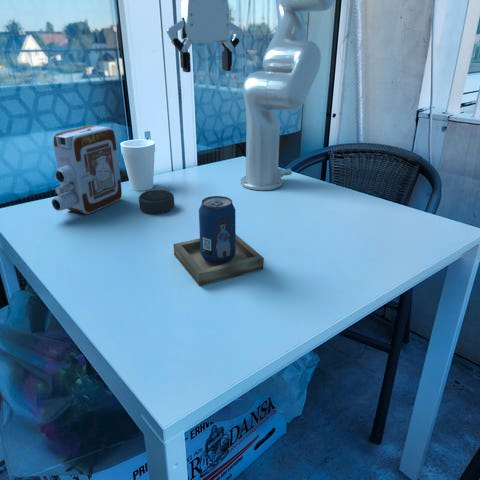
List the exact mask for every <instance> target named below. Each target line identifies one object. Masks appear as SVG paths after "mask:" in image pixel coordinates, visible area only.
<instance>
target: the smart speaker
mask: <svg viewBox="0 0 480 480" xmlns="http://www.w3.org/2000/svg"><path fill="white" fill-rule="evenodd" d="M138 206H139V209H140V210H141V212H143V213H145V214H149V215H159V214H166V213H169V212H170V211H172V210H173V209H174V208H175V195H174V193H172V191H169V190H166V189H165V190H164V189H149V190H145V191H143V192H142V193H140V195H139V196H138Z"/></svg>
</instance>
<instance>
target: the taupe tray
mask: <svg viewBox="0 0 480 480" xmlns="http://www.w3.org/2000/svg"><path fill="white" fill-rule="evenodd" d="M173 255H174V256H175V258H176V259H177V260H178V261H179V263H180V264H181V265H182V267H183V268H184V269H185V271H186V272H187V273H188V274H189V275H190V276H191V277H192V280H194V281H195V283H196V285H198V287H201V286H204V285H205V286H206V285H209V284H212V283H216V282H219V281H223V280H227V279H231V278H235V277H239V276H243V275H246V274H251V273H254V271H255V272H259V271H262V270H264V269H265V268H264V267H265V265H264V263H265V262H264V261H265V259H264V257H263V256H262V255H261V254H260V253H259V252H257V251H256V250H255V249H254V248H253V247H252V246H250V245H249V244H248V243H247V242H246V241H244V239H242V238H241V237H240V236H239V235H238V234H236V252H235V255H234V257H233V258H232V259H231V261H229V262H228V263H225V264H219V265H216V264H210V263H208V262H206V261H205V260H204V258H203V257H202V255H201V253H200V237H199V238H195V239H190V240H185V241H181V242H177V243H173ZM258 270H259V271H258Z"/></svg>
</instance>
